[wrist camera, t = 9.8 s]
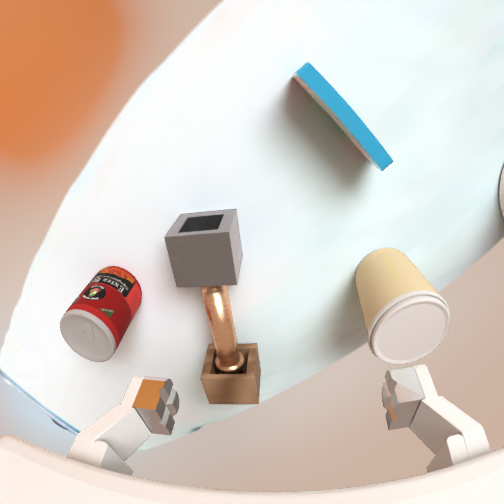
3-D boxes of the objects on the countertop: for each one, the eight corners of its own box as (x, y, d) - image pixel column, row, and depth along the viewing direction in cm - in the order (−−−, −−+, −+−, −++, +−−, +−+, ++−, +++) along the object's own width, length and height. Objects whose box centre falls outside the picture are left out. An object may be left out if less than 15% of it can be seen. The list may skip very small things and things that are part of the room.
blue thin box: (291, 76, 29) (295, 72, 24) (301, 67, 29) (307, 61, 23) (365, 159, 33) (383, 172, 27) (375, 150, 32) (394, 162, 27)
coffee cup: (398, 307, 42) (425, 369, 31) (338, 296, 41) (355, 363, 31) (425, 249, 37) (467, 304, 27) (363, 233, 37) (394, 290, 26)
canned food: (141, 267, 41) (107, 319, 31) (146, 314, 45) (119, 368, 35) (92, 260, 41) (52, 306, 31) (100, 306, 45) (68, 354, 35)
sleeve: (236, 208, 36) (229, 231, 31) (242, 255, 39) (237, 284, 34) (180, 214, 37) (164, 237, 31) (190, 259, 40) (177, 287, 34)
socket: (256, 343, 46) (254, 378, 40) (260, 370, 48) (258, 404, 42) (208, 344, 46) (200, 378, 40) (215, 370, 49) (209, 403, 43)
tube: (232, 276, 39) (228, 295, 35) (248, 366, 46) (246, 387, 43) (200, 278, 39) (193, 297, 36) (221, 367, 47) (218, 387, 43)
